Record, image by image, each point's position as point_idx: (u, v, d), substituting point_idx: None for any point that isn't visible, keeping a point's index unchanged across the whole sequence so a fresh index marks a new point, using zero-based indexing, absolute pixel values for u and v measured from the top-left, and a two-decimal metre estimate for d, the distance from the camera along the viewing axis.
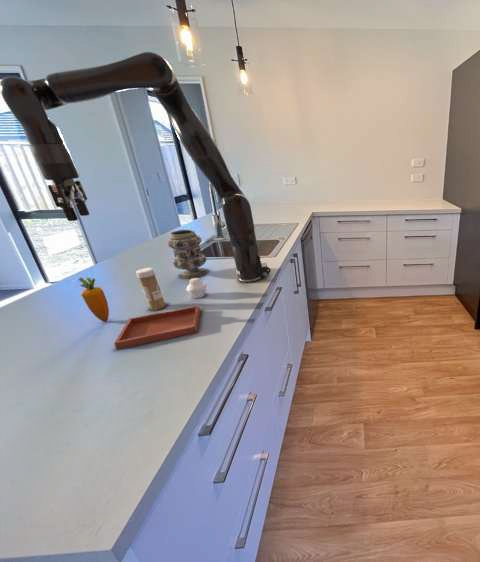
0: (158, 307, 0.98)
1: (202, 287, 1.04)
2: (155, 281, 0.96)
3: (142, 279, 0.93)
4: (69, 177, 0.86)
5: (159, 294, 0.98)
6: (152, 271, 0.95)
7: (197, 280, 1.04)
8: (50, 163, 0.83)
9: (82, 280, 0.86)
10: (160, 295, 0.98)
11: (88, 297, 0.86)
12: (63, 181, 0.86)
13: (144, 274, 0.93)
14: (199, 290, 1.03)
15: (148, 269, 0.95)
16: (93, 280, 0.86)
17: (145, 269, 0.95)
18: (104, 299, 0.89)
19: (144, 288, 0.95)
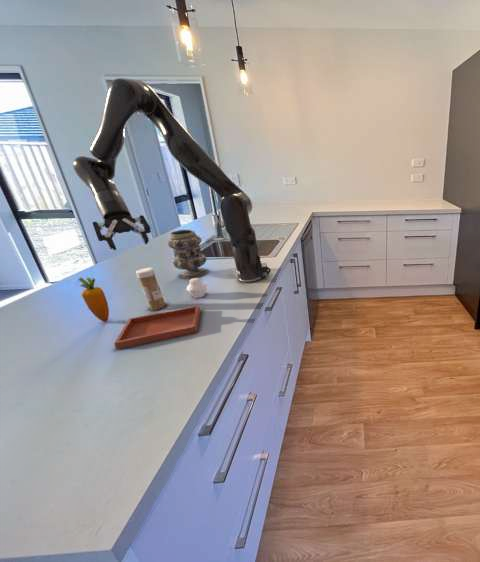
0: (158, 307, 0.98)
1: (202, 287, 1.04)
2: (155, 281, 0.96)
3: (142, 279, 0.93)
4: (106, 213, 0.98)
5: (159, 294, 0.98)
6: (152, 271, 0.95)
7: (197, 280, 1.04)
8: (98, 208, 0.99)
9: (82, 280, 0.86)
10: (160, 295, 0.98)
11: (88, 297, 0.86)
12: (107, 218, 0.98)
13: (144, 274, 0.93)
14: (199, 290, 1.03)
15: (148, 269, 0.95)
16: (93, 280, 0.86)
17: (145, 269, 0.95)
18: (104, 299, 0.89)
19: (144, 288, 0.95)
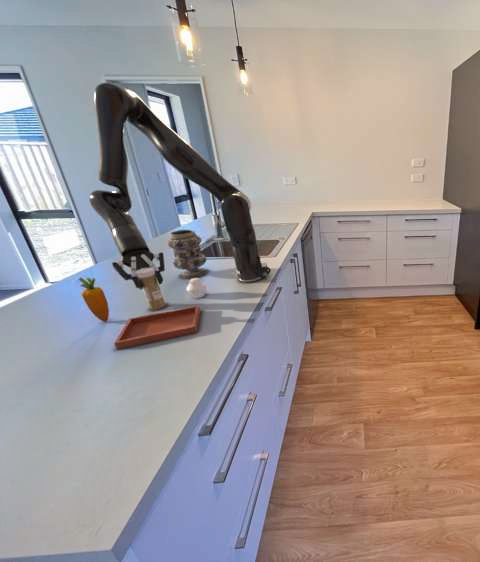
0: (158, 307, 0.98)
1: (202, 287, 1.04)
2: (155, 281, 0.96)
3: (142, 279, 0.93)
4: (124, 250, 0.94)
5: (159, 294, 0.98)
6: (152, 271, 0.95)
7: (197, 280, 1.04)
8: (116, 244, 0.95)
9: (82, 280, 0.86)
10: (160, 295, 0.98)
11: (88, 297, 0.86)
12: (125, 255, 0.94)
13: (144, 274, 0.93)
14: (199, 290, 1.03)
15: (148, 269, 0.95)
16: (93, 280, 0.86)
17: (145, 269, 0.95)
18: (104, 299, 0.89)
19: (144, 288, 0.95)
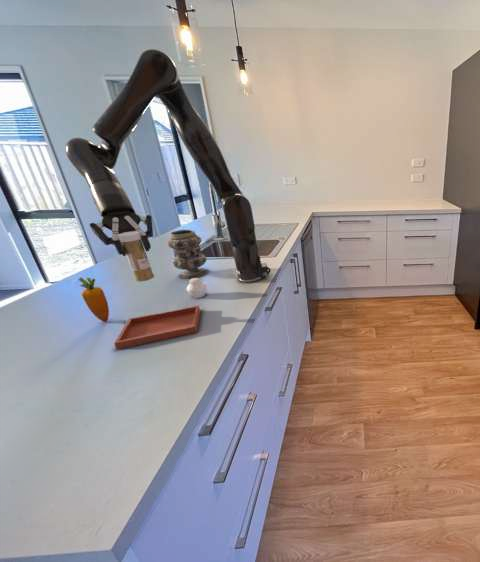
0: (145, 278, 0.84)
1: (202, 287, 1.04)
2: (141, 247, 0.82)
3: (126, 243, 0.79)
4: (104, 209, 0.79)
5: (146, 263, 0.83)
6: (137, 235, 0.80)
7: (197, 280, 1.04)
8: (95, 204, 0.81)
9: (82, 280, 0.86)
10: (147, 264, 0.83)
11: (88, 297, 0.86)
12: (106, 215, 0.80)
13: (128, 238, 0.78)
14: (199, 290, 1.03)
15: (133, 232, 0.80)
16: (93, 280, 0.86)
17: (129, 232, 0.80)
18: (104, 299, 0.89)
19: (128, 255, 0.80)
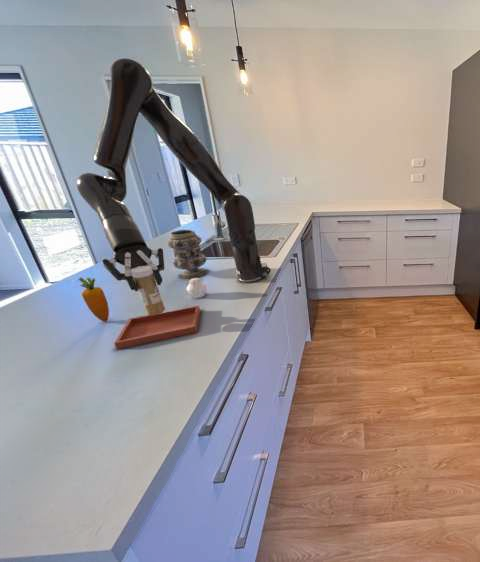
0: (156, 312, 0.84)
1: (202, 287, 1.04)
2: (153, 282, 0.82)
3: (138, 279, 0.79)
4: (117, 245, 0.79)
5: (158, 297, 0.83)
6: (150, 270, 0.80)
7: (197, 280, 1.04)
8: (107, 238, 0.81)
9: (82, 280, 0.86)
10: (158, 298, 0.84)
11: (88, 297, 0.86)
12: (118, 251, 0.80)
13: (140, 274, 0.79)
14: (199, 290, 1.03)
15: (145, 267, 0.80)
16: (93, 280, 0.86)
17: (141, 267, 0.80)
18: (104, 299, 0.89)
19: (140, 290, 0.80)
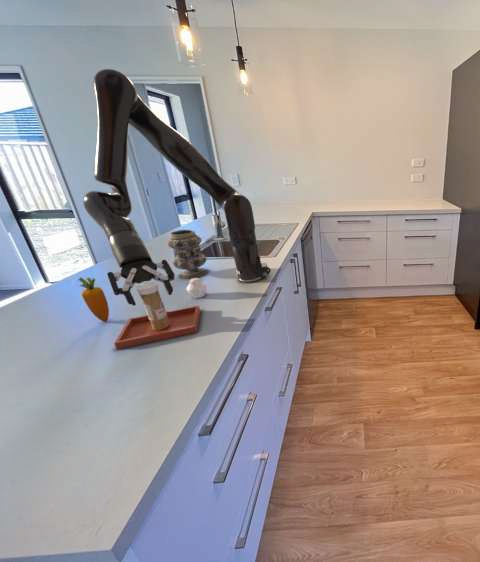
0: (162, 327, 0.86)
1: (202, 287, 1.04)
2: (159, 298, 0.84)
3: (144, 296, 0.81)
4: (123, 261, 0.81)
5: (163, 312, 0.86)
6: (155, 287, 0.83)
7: (197, 280, 1.04)
8: (114, 254, 0.83)
9: (82, 280, 0.86)
10: (164, 313, 0.86)
11: (88, 297, 0.86)
12: (124, 266, 0.82)
13: (146, 291, 0.81)
14: (199, 290, 1.03)
15: (151, 284, 0.82)
16: (93, 280, 0.86)
17: (147, 284, 0.83)
18: (104, 299, 0.89)
19: (146, 306, 0.82)
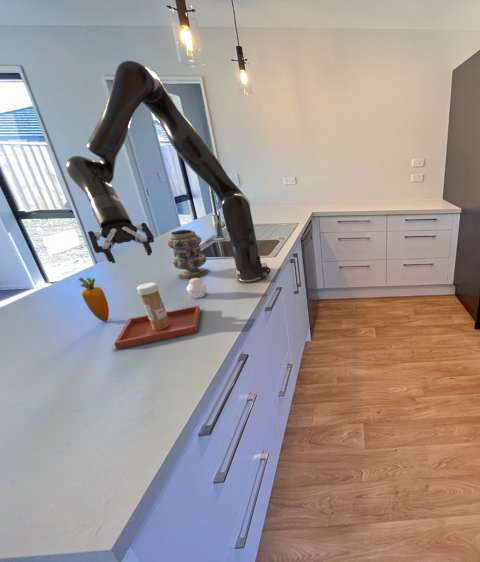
0: (162, 327, 0.86)
1: (202, 287, 1.04)
2: (159, 298, 0.84)
3: (144, 296, 0.81)
4: (103, 221, 0.86)
5: (163, 312, 0.86)
6: (155, 287, 0.83)
7: (197, 280, 1.04)
8: (95, 216, 0.87)
9: (82, 280, 0.86)
10: (164, 313, 0.86)
11: (88, 297, 0.86)
12: (104, 227, 0.87)
13: (146, 291, 0.81)
14: (199, 290, 1.03)
15: (151, 284, 0.82)
16: (93, 280, 0.86)
17: (147, 284, 0.83)
18: (104, 299, 0.89)
19: (146, 306, 0.82)
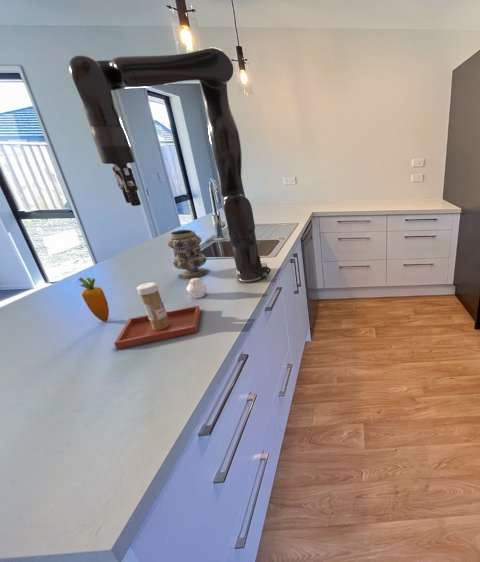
0: (162, 327, 0.86)
1: (202, 287, 1.04)
2: (159, 298, 0.84)
3: (144, 296, 0.81)
4: (131, 161, 0.85)
5: (163, 312, 0.86)
6: (155, 287, 0.83)
7: (197, 280, 1.04)
8: (116, 146, 0.81)
9: (82, 280, 0.86)
10: (164, 313, 0.86)
11: (88, 297, 0.86)
12: (126, 165, 0.85)
13: (146, 291, 0.81)
14: (199, 290, 1.03)
15: (151, 284, 0.82)
16: (93, 280, 0.86)
17: (147, 284, 0.83)
18: (104, 299, 0.89)
19: (146, 306, 0.82)
